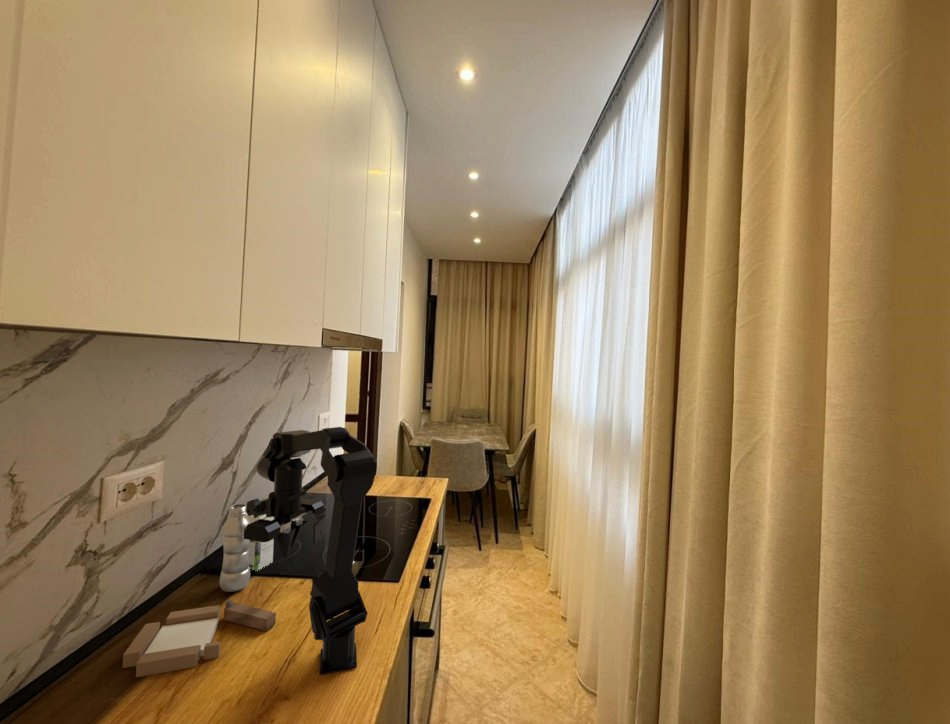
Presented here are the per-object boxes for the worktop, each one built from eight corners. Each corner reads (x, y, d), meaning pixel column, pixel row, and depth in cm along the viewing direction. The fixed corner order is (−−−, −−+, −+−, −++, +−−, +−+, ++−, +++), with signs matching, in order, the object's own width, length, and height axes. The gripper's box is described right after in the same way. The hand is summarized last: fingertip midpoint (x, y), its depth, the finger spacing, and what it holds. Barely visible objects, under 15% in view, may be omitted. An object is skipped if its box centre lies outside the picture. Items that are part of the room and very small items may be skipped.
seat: (216, 663, 75) (216, 650, 75) (113, 681, 70) (113, 667, 70) (236, 613, 89) (236, 602, 89) (152, 626, 84) (152, 614, 84)
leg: (221, 620, 87) (221, 604, 87) (230, 614, 89) (231, 598, 89) (266, 632, 83) (267, 616, 83) (275, 625, 86) (275, 609, 86)
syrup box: (239, 568, 108) (241, 514, 109) (257, 558, 114) (259, 507, 114) (256, 572, 107) (258, 517, 107) (273, 562, 112) (275, 509, 113)
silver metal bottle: (240, 578, 104) (243, 500, 104) (255, 586, 100) (258, 505, 100) (213, 590, 98) (216, 507, 98) (228, 599, 95) (231, 513, 95)
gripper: (288, 473, 103) (286, 535, 102) (223, 495, 85) (221, 570, 84) (326, 477, 99) (324, 541, 99) (267, 501, 81) (264, 579, 81)
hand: (285, 556), depth 91 cm, fingers closed
